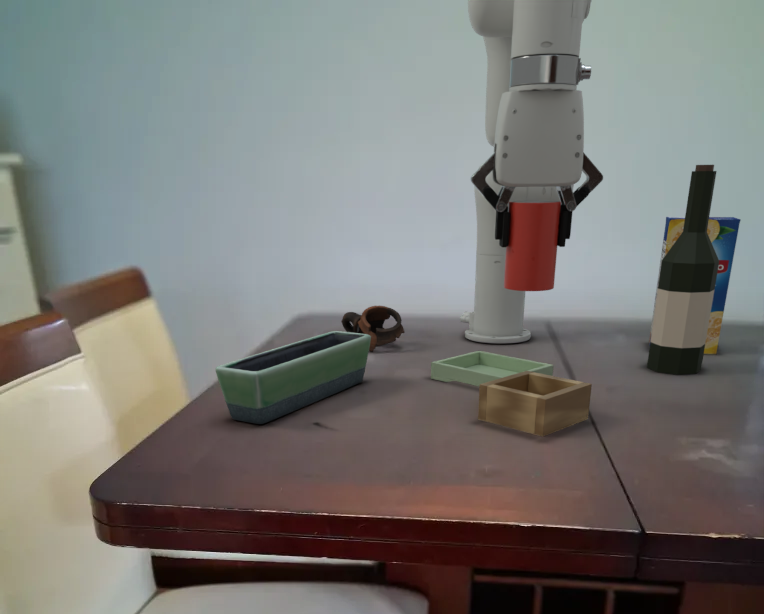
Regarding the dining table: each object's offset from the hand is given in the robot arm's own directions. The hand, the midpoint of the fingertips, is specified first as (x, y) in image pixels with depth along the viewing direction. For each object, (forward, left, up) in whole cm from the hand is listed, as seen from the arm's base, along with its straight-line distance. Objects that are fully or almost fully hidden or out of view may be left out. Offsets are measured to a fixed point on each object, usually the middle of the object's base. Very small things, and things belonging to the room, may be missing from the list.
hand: (531, 244), depth 91 cm
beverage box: (-2, +51, -21) cm, 56 cm away
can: (0, 0, -5) cm, 5 cm away
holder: (+5, -4, -21) cm, 22 cm away
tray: (-13, +10, -21) cm, 27 cm away
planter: (-25, -18, -21) cm, 37 cm away
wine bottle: (+4, +36, -21) cm, 42 cm away
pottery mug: (-44, +14, -21) cm, 51 cm away
